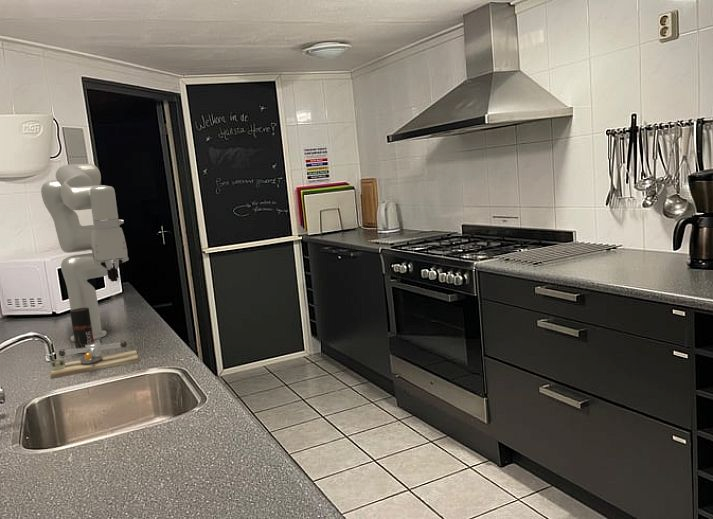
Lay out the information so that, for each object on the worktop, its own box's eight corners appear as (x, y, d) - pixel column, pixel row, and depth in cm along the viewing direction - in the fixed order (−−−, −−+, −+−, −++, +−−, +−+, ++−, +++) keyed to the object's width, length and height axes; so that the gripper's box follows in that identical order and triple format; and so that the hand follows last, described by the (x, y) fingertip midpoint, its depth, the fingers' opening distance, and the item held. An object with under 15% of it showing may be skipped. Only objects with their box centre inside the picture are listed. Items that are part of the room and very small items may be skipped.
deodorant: (88, 354, 203) (81, 311, 201) (72, 354, 205) (66, 312, 202) (98, 349, 209) (92, 307, 207) (83, 349, 210) (77, 307, 208)
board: (53, 368, 190) (51, 356, 189) (136, 353, 200) (134, 341, 199) (51, 378, 180) (49, 365, 179) (138, 361, 190) (137, 349, 189)
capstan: (132, 347, 202) (130, 331, 201) (124, 364, 182) (122, 347, 181) (68, 356, 197) (65, 340, 196) (52, 375, 178) (49, 357, 177)
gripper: (128, 221, 199) (134, 275, 202) (79, 226, 191) (87, 282, 195) (133, 223, 193) (140, 278, 196) (83, 228, 185) (91, 286, 188)
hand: (113, 280), depth 195 cm, fingers closed
